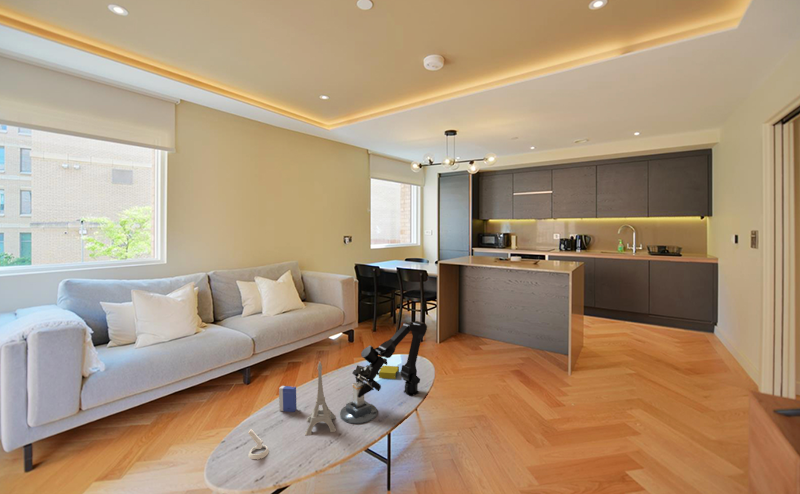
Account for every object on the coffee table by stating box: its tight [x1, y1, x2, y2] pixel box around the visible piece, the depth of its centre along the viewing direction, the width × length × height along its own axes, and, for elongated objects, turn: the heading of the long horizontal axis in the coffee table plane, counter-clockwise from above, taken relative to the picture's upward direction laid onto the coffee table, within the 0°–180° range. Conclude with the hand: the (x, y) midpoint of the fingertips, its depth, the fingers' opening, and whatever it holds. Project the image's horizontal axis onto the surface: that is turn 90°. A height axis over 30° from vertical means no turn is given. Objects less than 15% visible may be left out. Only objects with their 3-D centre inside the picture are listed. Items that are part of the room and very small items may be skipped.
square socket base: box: [339, 399, 378, 425], centre depth 165 cm, size 18×18×4 cm
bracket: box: [378, 365, 400, 380], centre depth 210 cm, size 16×8×15 cm
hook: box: [247, 428, 270, 460], centre depth 136 cm, size 8×12×7 cm
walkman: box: [278, 385, 297, 413], centre depth 169 cm, size 8×3×12 cm, turn 81°
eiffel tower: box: [304, 361, 337, 436], centre depth 155 cm, size 13×13×30 cm
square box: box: [352, 381, 365, 409], centre depth 165 cm, size 4×4×12 cm
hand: (356, 395), depth 164 cm, fingers closed on square box, 4 cm apart
